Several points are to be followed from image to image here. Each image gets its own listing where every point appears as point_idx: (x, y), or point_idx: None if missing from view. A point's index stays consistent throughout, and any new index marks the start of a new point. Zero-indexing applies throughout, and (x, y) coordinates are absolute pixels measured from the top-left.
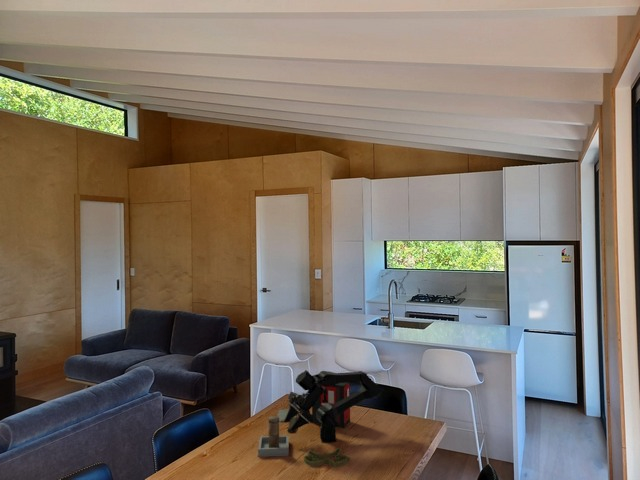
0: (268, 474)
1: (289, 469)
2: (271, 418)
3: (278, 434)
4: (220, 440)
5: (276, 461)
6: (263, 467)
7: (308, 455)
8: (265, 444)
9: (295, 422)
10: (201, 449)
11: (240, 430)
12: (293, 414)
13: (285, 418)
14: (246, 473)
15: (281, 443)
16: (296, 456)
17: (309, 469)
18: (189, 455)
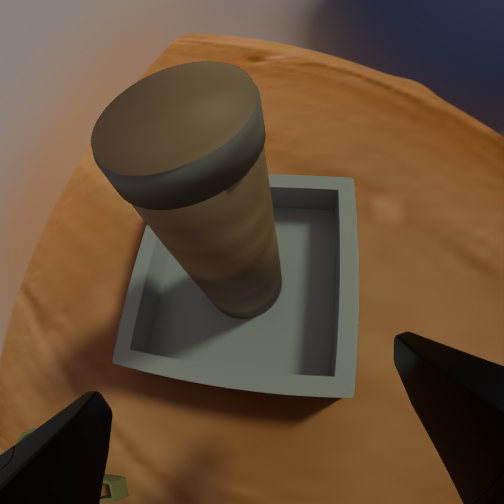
0: (34, 250)
1: (29, 338)
2: (157, 86)
3: (190, 274)
4: (373, 79)
5: (100, 290)
6: (79, 230)
7: (105, 475)
8: (302, 229)
9: (18, 448)
10: (299, 50)
11: (476, 136)
12: (478, 485)
13: (427, 346)
14: (74, 177)
15: (302, 339)
16: (118, 412)
17: (13, 419)
18: (262, 40)
